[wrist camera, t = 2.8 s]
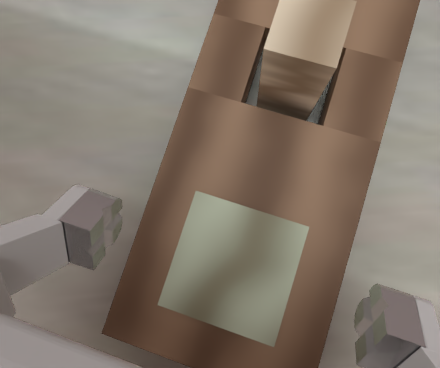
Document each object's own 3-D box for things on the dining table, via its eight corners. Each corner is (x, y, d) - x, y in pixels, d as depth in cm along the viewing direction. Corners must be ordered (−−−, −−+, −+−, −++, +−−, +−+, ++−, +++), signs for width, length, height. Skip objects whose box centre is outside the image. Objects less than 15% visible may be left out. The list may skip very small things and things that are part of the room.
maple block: (256, 108, 27) (263, 48, 18) (271, 63, 28) (285, -17, 19) (305, 122, 27) (336, 68, 18) (319, 76, 27) (356, 1, 18)
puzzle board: (117, 321, 25) (100, 334, 22) (238, -27, 29) (238, -59, 26) (298, 388, 24) (306, 412, 21) (403, 13, 27) (425, -15, 24)
